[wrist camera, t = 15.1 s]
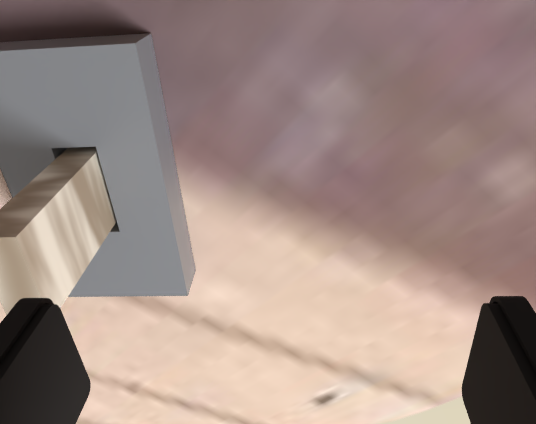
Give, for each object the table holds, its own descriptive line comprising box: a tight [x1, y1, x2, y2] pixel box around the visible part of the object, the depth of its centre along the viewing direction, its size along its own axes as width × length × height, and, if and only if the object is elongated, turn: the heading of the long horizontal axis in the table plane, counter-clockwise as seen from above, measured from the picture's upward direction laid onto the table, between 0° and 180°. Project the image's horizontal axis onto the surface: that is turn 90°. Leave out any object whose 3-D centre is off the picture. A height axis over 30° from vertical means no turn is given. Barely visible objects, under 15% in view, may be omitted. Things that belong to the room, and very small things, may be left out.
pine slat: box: [0, 147, 117, 315], centre depth 36 cm, size 3×7×16 cm, turn 3°
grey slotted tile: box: [0, 33, 196, 297], centre depth 41 cm, size 14×24×4 cm, turn 4°
